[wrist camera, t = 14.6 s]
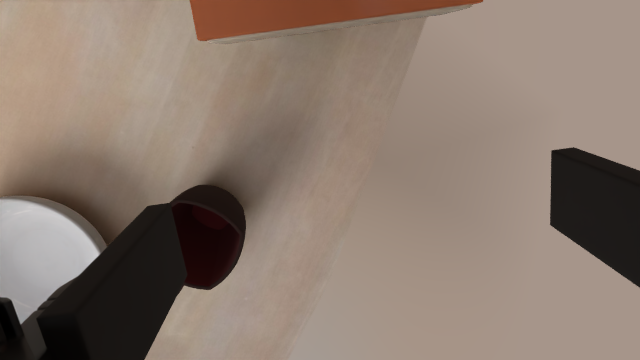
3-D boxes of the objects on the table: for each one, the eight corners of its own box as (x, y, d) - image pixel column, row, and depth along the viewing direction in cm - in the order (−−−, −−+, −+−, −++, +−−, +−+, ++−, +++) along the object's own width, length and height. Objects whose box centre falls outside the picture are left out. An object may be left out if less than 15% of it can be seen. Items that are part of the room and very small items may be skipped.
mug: (265, 195, 59) (256, 231, 48) (216, 276, 62) (197, 327, 51) (198, 158, 58) (172, 186, 46) (151, 243, 61) (116, 289, 49)
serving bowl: (160, 275, 62) (143, 302, 55) (43, 345, 64) (13, 379, 58) (59, 152, 57) (27, 166, 50) (-65, 233, 59) (-111, 257, 52)
